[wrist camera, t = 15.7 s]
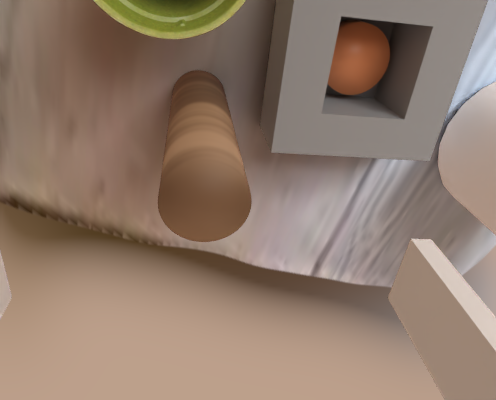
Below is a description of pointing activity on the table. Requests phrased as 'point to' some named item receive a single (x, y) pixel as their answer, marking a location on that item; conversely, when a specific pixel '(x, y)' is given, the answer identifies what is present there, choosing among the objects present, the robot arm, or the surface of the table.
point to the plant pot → (171, 15)
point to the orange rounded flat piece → (358, 57)
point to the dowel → (202, 163)
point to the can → (472, 156)
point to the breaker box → (379, 96)
